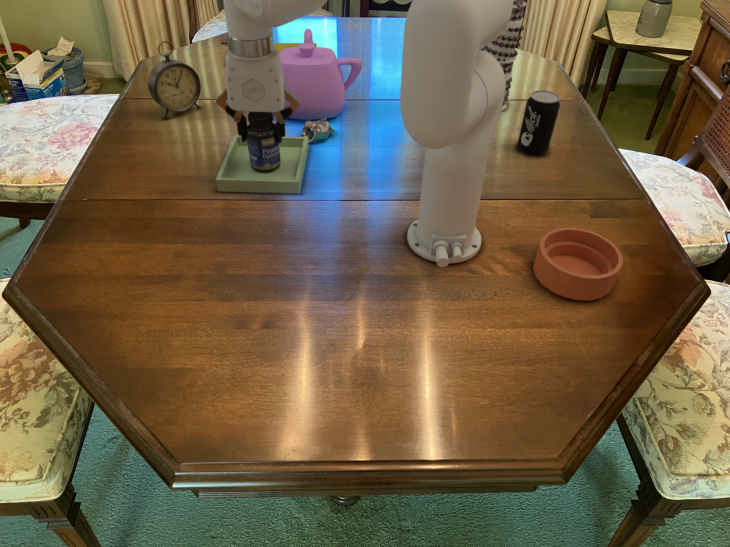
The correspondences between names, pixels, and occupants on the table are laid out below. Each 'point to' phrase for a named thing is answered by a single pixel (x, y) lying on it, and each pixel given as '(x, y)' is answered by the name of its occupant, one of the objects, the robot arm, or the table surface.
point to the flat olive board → (286, 46)
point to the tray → (245, 179)
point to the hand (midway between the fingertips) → (262, 138)
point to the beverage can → (538, 122)
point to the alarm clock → (174, 84)
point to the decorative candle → (508, 44)
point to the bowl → (577, 263)
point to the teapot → (316, 79)
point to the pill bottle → (262, 142)
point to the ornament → (316, 130)
